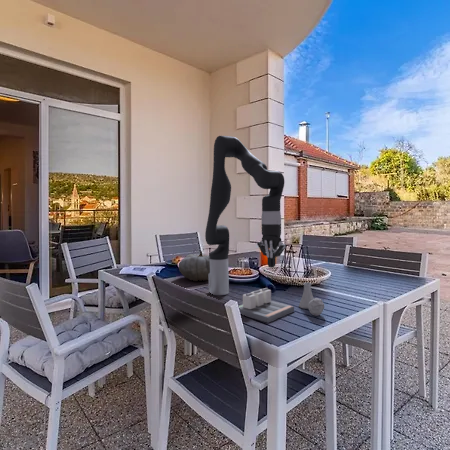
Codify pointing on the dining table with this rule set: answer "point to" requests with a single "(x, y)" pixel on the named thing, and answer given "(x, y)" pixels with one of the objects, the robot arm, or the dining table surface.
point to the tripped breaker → (258, 297)
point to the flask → (306, 296)
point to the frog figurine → (316, 306)
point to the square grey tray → (267, 311)
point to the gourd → (195, 267)
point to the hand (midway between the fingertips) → (271, 267)
